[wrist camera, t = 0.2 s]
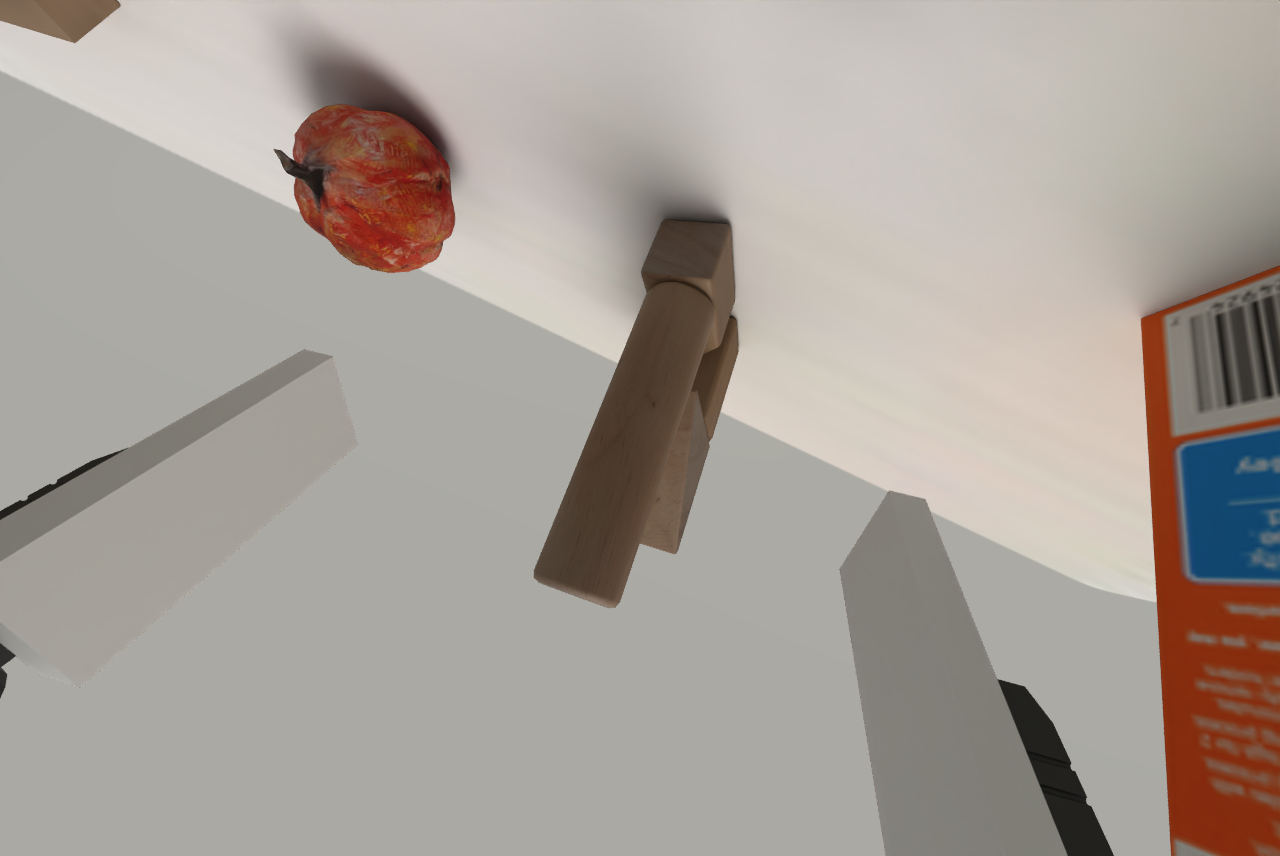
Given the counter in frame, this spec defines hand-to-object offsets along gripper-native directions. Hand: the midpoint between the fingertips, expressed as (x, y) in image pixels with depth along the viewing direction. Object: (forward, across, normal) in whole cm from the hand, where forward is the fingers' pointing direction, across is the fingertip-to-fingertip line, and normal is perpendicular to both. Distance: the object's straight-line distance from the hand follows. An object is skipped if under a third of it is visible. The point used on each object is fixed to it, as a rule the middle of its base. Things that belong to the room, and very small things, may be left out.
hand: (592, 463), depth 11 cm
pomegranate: (+18, -15, +3) cm, 24 cm away
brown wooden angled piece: (+19, +2, -2) cm, 19 cm away
